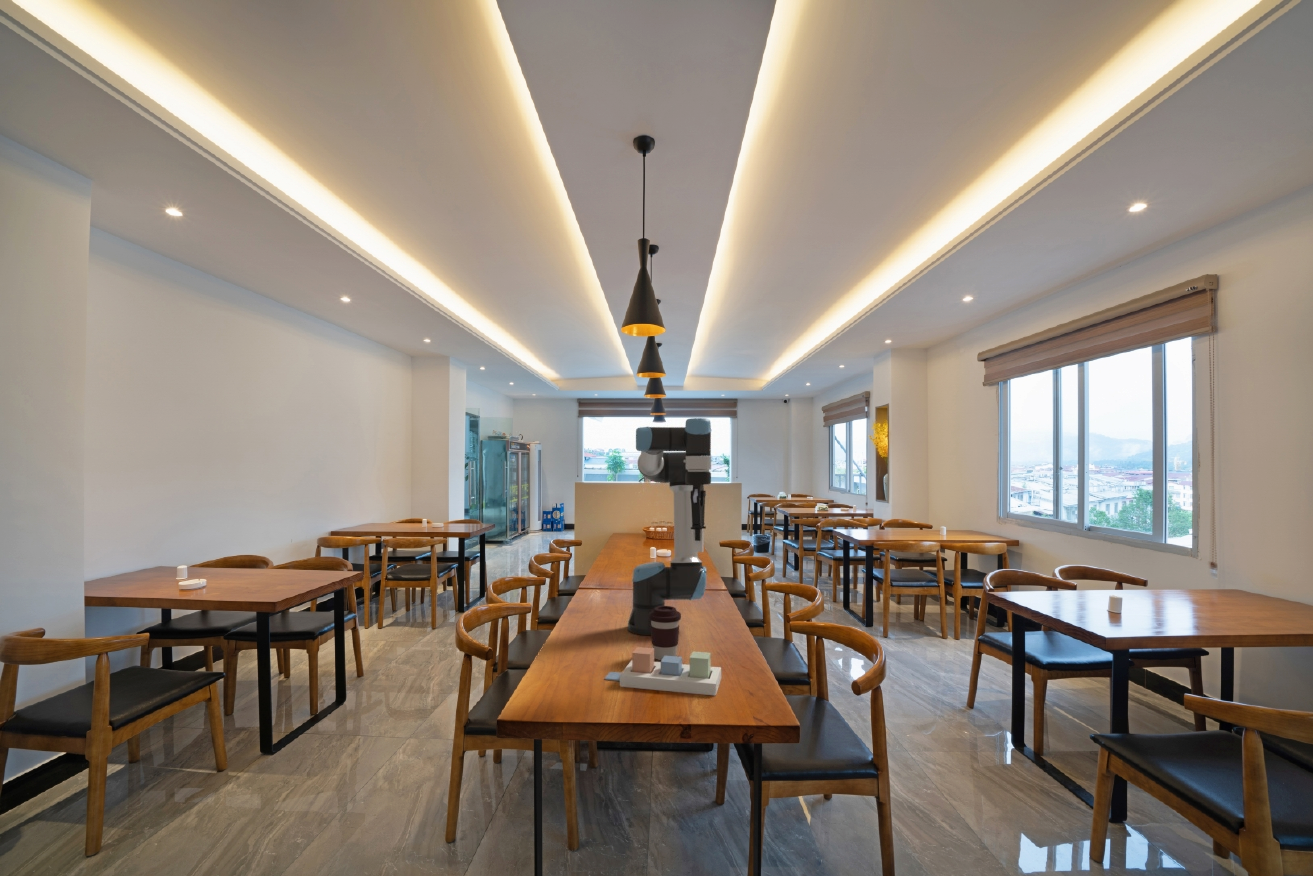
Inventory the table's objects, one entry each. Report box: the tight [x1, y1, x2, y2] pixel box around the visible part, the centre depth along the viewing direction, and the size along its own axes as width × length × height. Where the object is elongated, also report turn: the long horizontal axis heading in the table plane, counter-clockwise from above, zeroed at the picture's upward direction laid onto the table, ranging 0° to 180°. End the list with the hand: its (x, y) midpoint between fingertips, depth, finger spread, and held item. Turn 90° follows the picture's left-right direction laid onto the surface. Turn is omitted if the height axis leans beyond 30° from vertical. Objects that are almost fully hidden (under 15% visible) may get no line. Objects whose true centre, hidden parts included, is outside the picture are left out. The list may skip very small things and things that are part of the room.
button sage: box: [689, 651, 712, 679], centre depth 153 cm, size 5×5×5 cm
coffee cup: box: [649, 605, 682, 661], centre depth 175 cm, size 10×10×15 cm
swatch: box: [604, 671, 622, 682], centre depth 158 cm, size 5×5×1 cm
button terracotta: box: [631, 646, 655, 673], centre depth 157 cm, size 5×5×5 cm
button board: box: [619, 659, 722, 697], centre depth 155 cm, size 12×26×3 cm, turn 77°
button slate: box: [660, 656, 683, 676], centre depth 155 cm, size 5×5×5 cm
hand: (698, 551), depth 165 cm, fingers closed
